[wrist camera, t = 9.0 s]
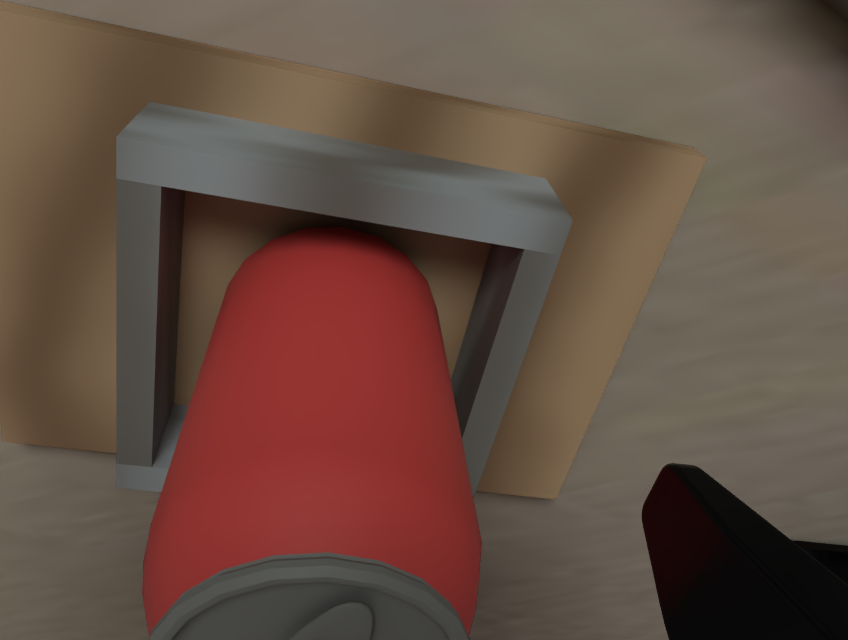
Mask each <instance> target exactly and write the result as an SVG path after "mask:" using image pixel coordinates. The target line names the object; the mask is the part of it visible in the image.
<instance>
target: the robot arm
mask: <svg viewBox="0 0 848 640" xmlns="http://www.w3.org/2000/svg"><path fill="white" fill-rule="evenodd" d="M642 523H643V528H644V533H645V537H646V542H647V547H648V551H649V556H650V561H651V565H652V570H653V575H654V579H655V584H656V589H657V593H658V598H659V603H660V607H661V611H662V615H663V619H664V624H665V627H666V631H667V634H668V637H669V640H848V546H843V545H833V544H823V543H813V542H803V541H792V540H790V539H789V538H788V537H787V536H785V535H784V534H783V533H781V532H780V531H779V530H778V529H776V528H775V527H774V526H773V525H771V524H770V523H769V522H768V521H766V520H765V519H764V518H762V517H761V516H760V515H759V514H757V513H756V512H755V511H754V510H752V509H751V508H750V507H749V506H747V505H746V504H745V503H743V502H742V501H741V500H740V499H738V498H737V497H736V496H735V495H733V494H732V493H731V492H730V491H728V490H727V489H726V488H724V487H723V486H722V485H721V484H719V483H718V482H717V481H716V480H714V479H713V478H712V477H711V476H709V475H708V474H707V473H705V472H704V471H703V470H702V469H700V468H699V467H697V466H694V465H686V464H676V463H671V464H667V465H666V466H664V467H663V468H662V470H661V472H660V474H659V475H658V477H657V479H656V481H655V483H654V485H653V487H652V489H651V491H650V493H649V495H648V497H647V499H646V500H645V502H644V505H643V509H642Z"/></svg>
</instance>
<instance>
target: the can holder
mask: <svg viewBox="0 0 848 640" xmlns="http://www.w3.org/2000/svg"><path fill="white" fill-rule="evenodd" d="M706 160H707V158H706V157H705V156H704V155H702V154H701V153H700V152H699V151H697V150H696V149H695V148H693V147H689V146H684V145H680V144H675V143H670V142H665V141H661V140H656V139H651V138H647V137H642V136H637V135H632V134H628V133H623V132H618V131H613V130H609V129H604V128H599V127H595V126H590V125H585V124H580V123H576V122H571V121H566V120H561V119H557V118H552V117H547V116H543V115H538V114H533V113H528V112H524V111H519V110H514V109H509V108H505V107H500V106H495V105H491V104H486V103H481V102H476V101H472V100H467V99H462V98H457V97H453V96H448V95H443V94H439V93H434V92H429V91H424V90H420V89H415V88H410V87H405V86H401V85H396V84H391V83H387V82H382V81H377V80H372V79H368V78H363V77H358V76H354V75H349V74H344V73H339V72H335V71H330V70H325V69H320V68H316V67H311V66H306V65H302V64H297V63H292V62H287V61H283V60H278V59H273V58H268V57H264V56H259V55H254V54H250V53H245V52H240V51H235V50H231V49H226V48H221V47H216V46H212V45H207V44H202V43H198V42H193V41H188V40H183V39H179V38H174V37H169V36H164V35H160V34H155V33H150V32H146V31H141V30H136V29H131V28H127V27H122V26H117V25H113V24H108V23H103V22H98V21H94V20H89V19H84V18H79V17H75V16H70V15H65V14H61V13H56V12H51V11H46V10H42V9H37V8H32V7H27V6H23V5H18V4H13V3H9V2H4V1H0V426H1V435H2V442H12V443H21V444H31V445H41V446H50V447H60V448H69V449H79V450H88V451H98V452H107V453H116V488H123V489H134V490H144V491H154V492H162V488H163V485H164V482H165V479H166V476H167V473H168V470H169V467H170V463H171V460H172V457H173V454H174V451H175V448H176V445H177V442H178V439H179V435H180V432H181V429H182V426H183V423H184V420H185V417H186V414H187V410H188V407H189V404H190V401H191V398H192V395H193V392H194V389H195V385H196V382H197V379H198V376H199V373H200V370H201V367H202V364H203V360H204V357H205V354H206V351H207V348H208V345H209V342H210V339H211V335H212V332H213V329H214V326H215V323H216V320H217V317H218V314H219V311H220V307H221V304H222V301H223V298H224V295H225V292H226V289H227V286H228V284H229V282H230V281H231V279H232V278H233V276H234V275H235V273H236V272H237V270H238V269H239V268H240V266H241V265H242V263H243V262H244V260H245V259H246V258H247V257H249V256H250V255H251V254H253V253H254V252H256V251H257V250H258V249H260V248H261V247H262V246H264V245H265V244H267V243H268V242H269V241H271V240H272V239H275V238H278V237H281V236H284V235H287V234H290V233H293V232H296V231H299V230H303V229H306V228H333V227H344V228H348V229H351V230H355V231H358V232H362V233H366V234H369V235H373V236H377V237H379V238H381V239H382V240H384V241H385V242H387V243H388V244H390V245H392V246H393V247H395V248H396V249H398V250H399V251H401V252H403V253H404V254H406V255H407V256H408V257H409V258H410V259H411V261H412V262H413V263H414V264H415V266H416V267H417V268H418V269H419V271H420V272H421V273H422V274H423V275H424V277H425V278H426V279H427V281H428V284H429V287H430V289H431V292H432V295H433V298H434V301H435V304H436V307H437V311H438V316H439V322H440V327H441V332H442V337H443V343H444V348H445V353H446V358H447V364H448V369H449V374H450V379H451V384H452V390H453V395H454V400H455V405H456V411H457V416H458V421H459V426H460V432H461V437H462V442H463V447H464V453H465V458H466V463H467V468H468V474H469V479H470V484H471V489H472V495H473V498H474V495H475V492H476V491H480V492H490V493H499V494H509V495H518V496H528V497H537V498H547V499H556V498H557V496H558V494H559V492H560V489H561V487H562V485H563V483H564V480H565V478H566V476H567V474H568V471H569V469H570V467H571V465H572V462H573V460H574V458H575V456H576V453H577V451H578V449H579V446H580V444H581V442H582V440H583V437H584V435H585V433H586V431H587V428H588V426H589V424H590V422H591V419H592V417H593V415H594V413H595V410H596V408H597V406H598V404H599V401H600V399H601V397H602V395H603V392H604V390H605V388H606V386H607V383H608V381H609V379H610V377H611V374H612V372H613V370H614V368H615V365H616V363H617V361H618V359H619V356H620V354H621V352H622V350H623V347H624V345H625V343H626V340H627V338H628V336H629V334H630V331H631V329H632V327H633V325H634V322H635V320H636V318H637V316H638V313H639V311H640V309H641V307H642V304H643V302H644V300H645V298H646V295H647V293H648V291H649V289H650V286H651V284H652V282H653V280H654V277H655V275H656V273H657V271H658V268H659V266H660V264H661V262H662V259H663V257H664V255H665V253H666V250H667V248H668V246H669V243H670V241H671V239H672V237H673V234H674V232H675V230H676V228H677V225H678V223H679V221H680V219H681V216H682V214H683V212H684V210H685V207H686V205H687V203H688V201H689V198H690V196H691V194H692V192H693V189H694V187H695V185H696V183H697V180H698V178H699V176H700V174H701V171H702V169H703V167H704V165H705V162H706Z"/></svg>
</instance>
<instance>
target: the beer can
mask: <svg viewBox="0 0 848 640" xmlns="http://www.w3.org/2000/svg"><path fill="white" fill-rule="evenodd" d="M481 544H482V542H481V536H480V531H479V526H478V521H477V516H476V510H475V505H474V500H473V495H472V489H471V484H470V479H469V474H468V468H467V463H466V458H465V453H464V447H463V442H462V437H461V432H460V426H459V421H458V416H457V411H456V405H455V400H454V395H453V390H452V384H451V379H450V374H449V369H448V364H447V358H446V353H445V348H444V343H443V337H442V332H441V327H440V322H439V316H438V311H437V307H436V304H435V301H434V298H433V295H432V292H431V289H430V287H429V284H428V281H427V279H426V278H425V277H424V275H423V274H422V273H421V272H420V271H419V269H418V268H417V267H416V266H415V264H414V263H413V262H412V261H411V259H410V258H409V257H408V256H407V255H406V254H404V253H403V252H401V251H399V250H398V249H396V248H395V247H393V246H392V245H390V244H388V243H387V242H385V241H384V240H382V239H381V238H379V237H377V236H373V235H369V234H366V233H362V232H358V231H355V230H351V229H348V228H344V227H333V228H306V229H303V230H299V231H296V232H293V233H290V234H287V235H284V236H281V237H278V238H275V239H272V240H271V241H269V242H268V243H267V244H265V245H264V246H262V247H261V248H260V249H258V250H257V251H256V252H254V253H253V254H251V255H250V256H249V257H247V258H246V259H245V260H244V262H243V263H242V265H241V266H240V268H239V269H238V270H237V272H236V273H235V275H234V276H233V278H232V279H231V281H230V282H229V284H228V286H227V289H226V292H225V295H224V298H223V301H222V304H221V307H220V311H219V314H218V317H217V320H216V323H215V326H214V329H213V332H212V335H211V339H210V342H209V345H208V348H207V351H206V354H205V357H204V360H203V364H202V367H201V370H200V373H199V376H198V379H197V382H196V385H195V389H194V392H193V395H192V398H191V401H190V404H189V407H188V410H187V414H186V417H185V420H184V423H183V426H182V429H181V432H180V435H179V439H178V442H177V445H176V448H175V451H174V454H173V457H172V460H171V463H170V467H169V470H168V473H167V476H166V479H165V482H164V485H163V488H162V492H161V495H160V498H159V501H158V504H157V507H156V510H155V513H154V517H153V520H152V523H151V527H150V532H149V537H148V542H147V547H146V552H145V556H144V564H143V590H142V594H143V600H144V607H145V613H146V620H147V625H148V631H149V636H150V637H149V640H470V638H469V633H470V629H471V626H472V622H473V618H474V614H475V610H476V605H477V594H478V583H479V571H480V558H481Z"/></svg>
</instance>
